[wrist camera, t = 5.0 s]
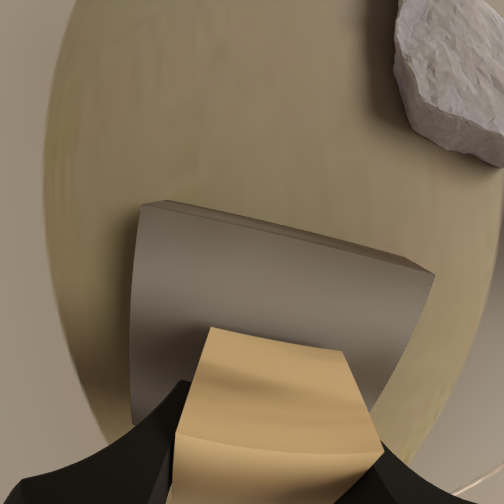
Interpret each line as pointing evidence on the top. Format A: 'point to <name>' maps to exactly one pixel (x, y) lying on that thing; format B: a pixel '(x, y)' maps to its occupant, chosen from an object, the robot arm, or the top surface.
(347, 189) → the top surface
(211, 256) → the base block
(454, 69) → the stone block
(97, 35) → the top surface
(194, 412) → the maple cube
